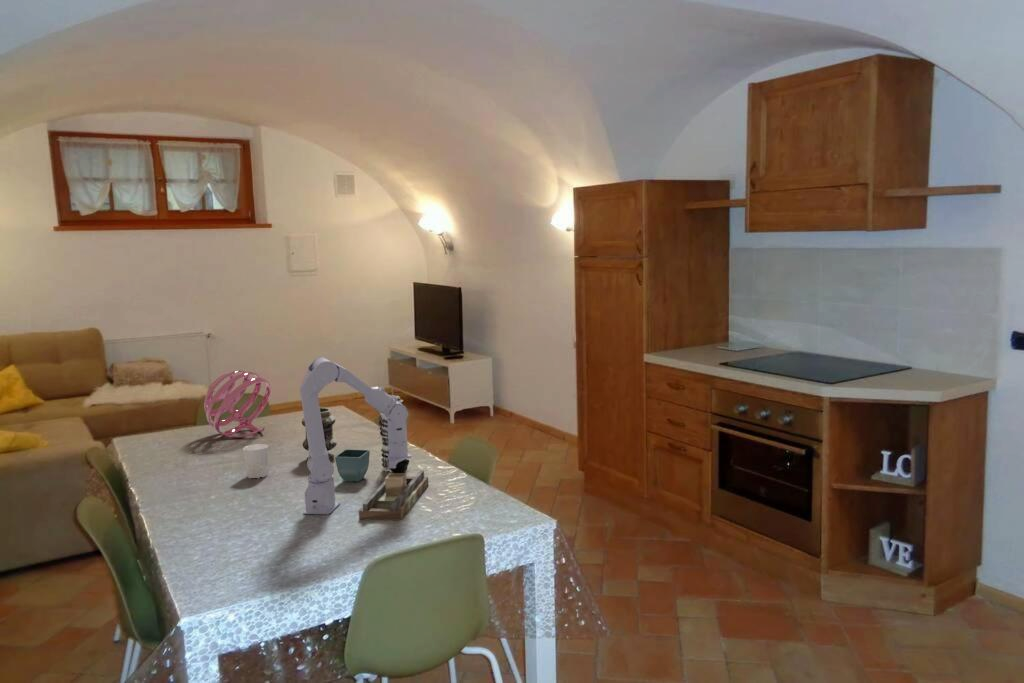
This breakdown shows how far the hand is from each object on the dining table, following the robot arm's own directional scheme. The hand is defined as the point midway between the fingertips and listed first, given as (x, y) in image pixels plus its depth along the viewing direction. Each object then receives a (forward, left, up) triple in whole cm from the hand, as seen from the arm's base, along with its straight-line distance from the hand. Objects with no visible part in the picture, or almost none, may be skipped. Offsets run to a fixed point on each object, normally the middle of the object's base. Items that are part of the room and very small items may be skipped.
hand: (400, 484), depth 236 cm
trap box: (-4, 0, -3) cm, 5 cm away
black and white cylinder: (+28, +10, -4) cm, 30 cm away
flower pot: (+15, +20, -4) cm, 25 cm away
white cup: (+18, +55, -4) cm, 58 cm away
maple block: (-4, 0, -1) cm, 4 cm away
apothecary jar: (+39, +41, -4) cm, 57 cm away
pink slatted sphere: (+73, +90, -4) cm, 116 cm away
